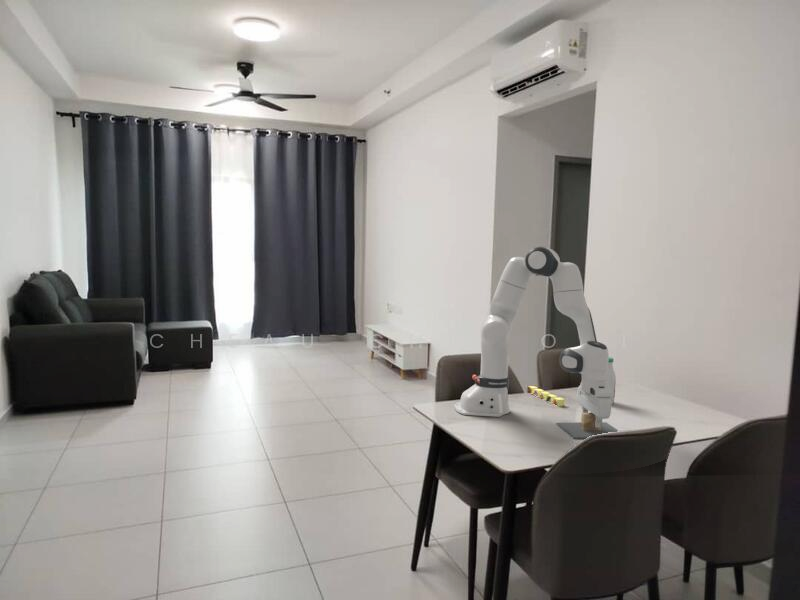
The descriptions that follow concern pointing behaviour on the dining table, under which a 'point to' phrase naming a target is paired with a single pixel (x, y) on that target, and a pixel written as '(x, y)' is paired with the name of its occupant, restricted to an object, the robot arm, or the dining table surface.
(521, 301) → the robot arm
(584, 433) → the mat
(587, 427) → the wooden u-shaped block
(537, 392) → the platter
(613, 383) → the milk bottle
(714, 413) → the dining table surface
